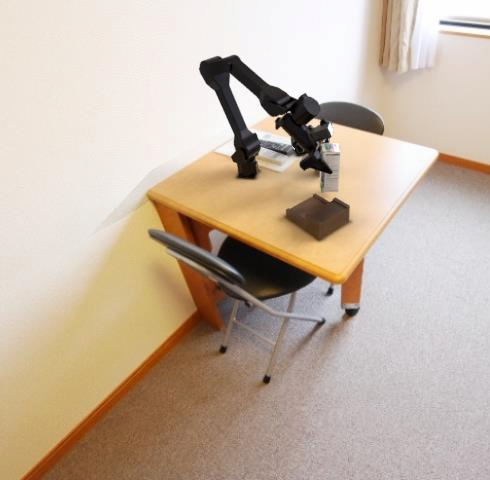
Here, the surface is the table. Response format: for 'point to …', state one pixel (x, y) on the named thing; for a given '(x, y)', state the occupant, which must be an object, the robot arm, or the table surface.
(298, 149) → the end cap
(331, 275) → the table surface
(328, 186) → the syrup box
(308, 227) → the dark brown boxy piece
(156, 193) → the table surface
